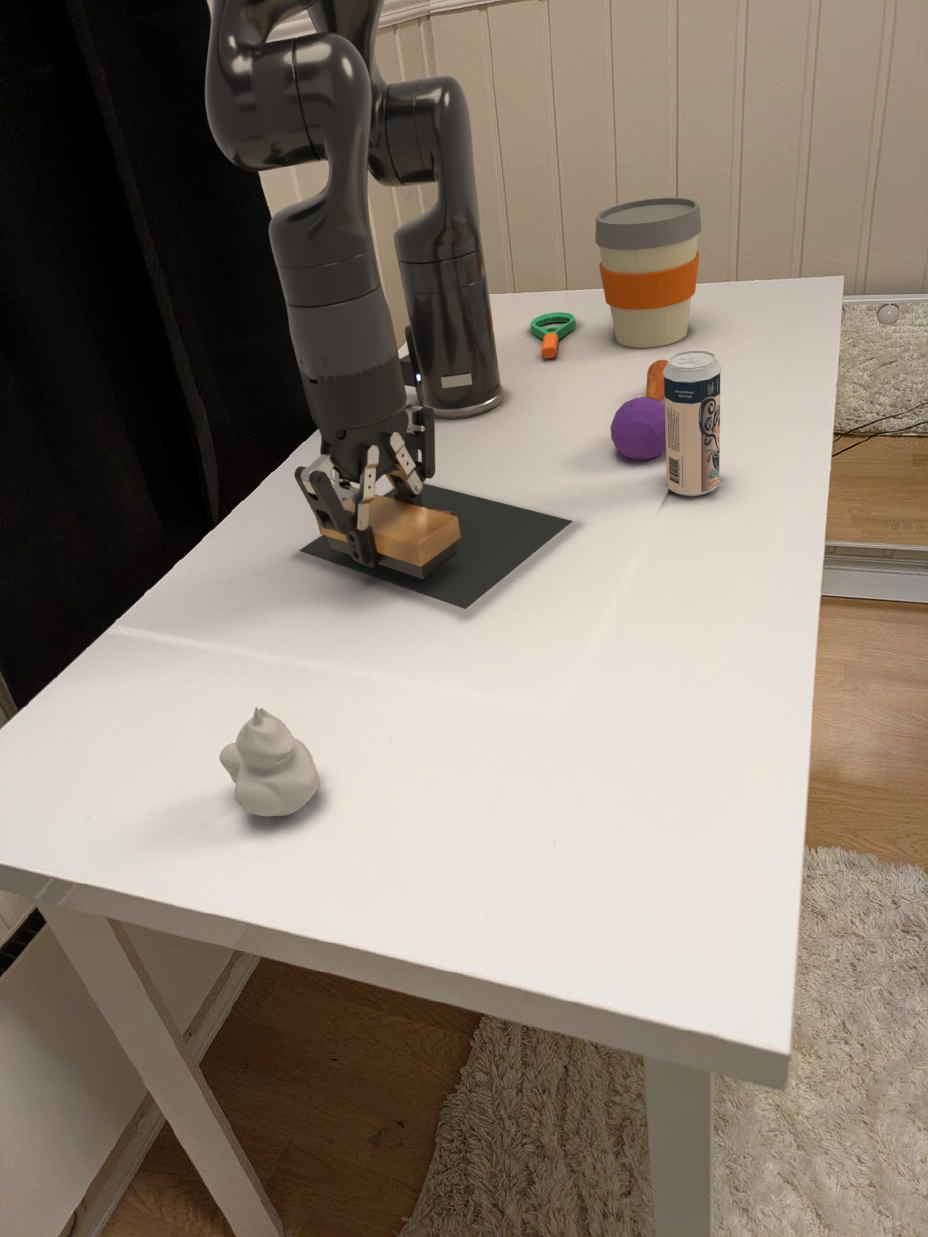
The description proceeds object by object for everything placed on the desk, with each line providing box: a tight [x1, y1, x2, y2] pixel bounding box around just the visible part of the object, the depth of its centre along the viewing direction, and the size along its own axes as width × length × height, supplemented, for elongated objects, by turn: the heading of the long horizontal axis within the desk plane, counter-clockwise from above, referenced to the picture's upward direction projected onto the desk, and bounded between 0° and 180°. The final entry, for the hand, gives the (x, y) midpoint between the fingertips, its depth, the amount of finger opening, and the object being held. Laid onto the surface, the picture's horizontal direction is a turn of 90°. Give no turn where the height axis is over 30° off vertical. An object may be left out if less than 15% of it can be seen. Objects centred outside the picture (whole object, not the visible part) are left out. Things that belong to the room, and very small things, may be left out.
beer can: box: [663, 350, 722, 497], centre depth 79 cm, size 5×5×12 cm
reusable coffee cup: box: [594, 196, 703, 349], centre depth 112 cm, size 13×13×15 cm
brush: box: [315, 493, 461, 579], centre depth 77 cm, size 12×5×4 cm, turn 50°
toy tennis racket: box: [530, 311, 576, 359], centre depth 120 cm, size 15×6×2 cm, turn 173°
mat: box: [298, 482, 573, 610], centre depth 82 cm, size 20×15×1 cm
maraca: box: [610, 359, 669, 461], centre depth 93 cm, size 6×6×20 cm
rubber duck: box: [218, 706, 321, 817], centre depth 56 cm, size 5×7×8 cm
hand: (391, 547), depth 77 cm, fingers closed on brush, 5 cm apart
